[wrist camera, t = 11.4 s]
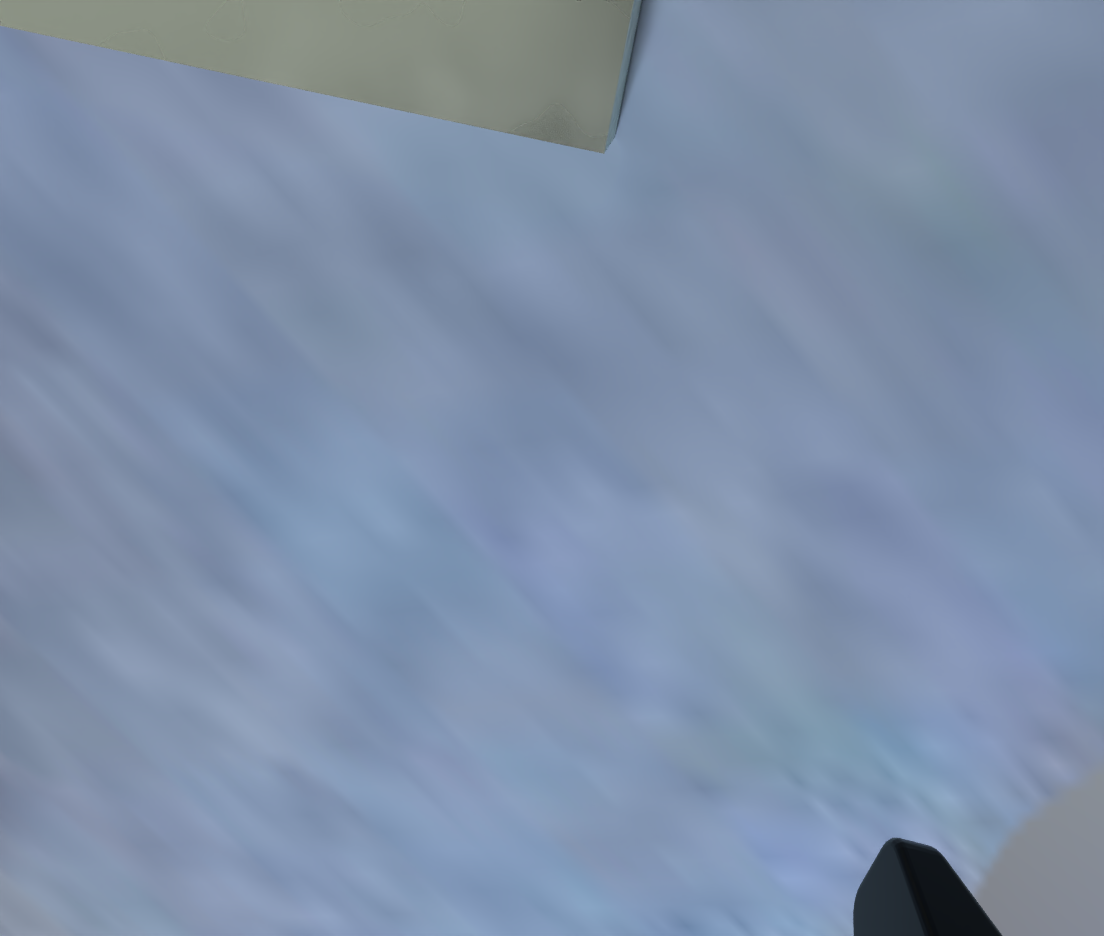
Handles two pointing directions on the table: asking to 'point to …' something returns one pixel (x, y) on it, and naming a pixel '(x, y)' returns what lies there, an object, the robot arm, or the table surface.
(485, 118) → the aluminium plate
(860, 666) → the table surface
